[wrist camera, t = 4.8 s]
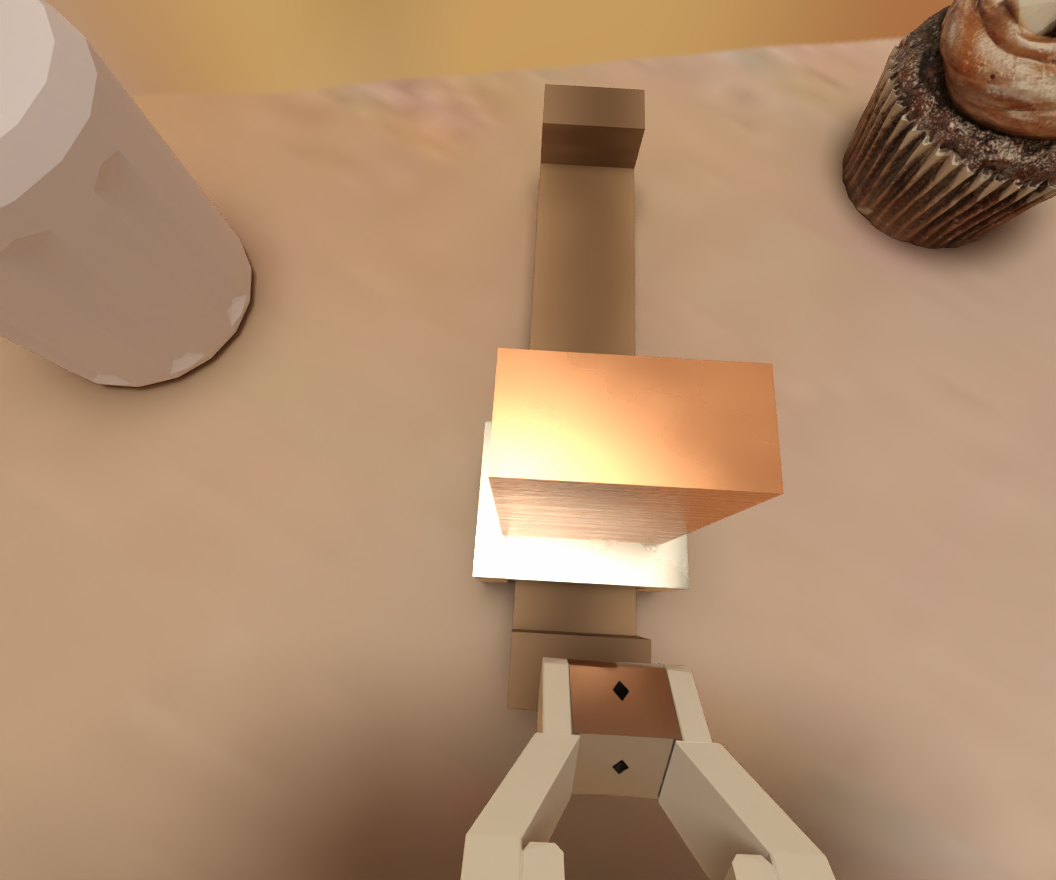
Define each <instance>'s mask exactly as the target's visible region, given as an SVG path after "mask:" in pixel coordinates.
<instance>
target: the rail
mask: <svg viewBox="0 0 1056 880" xmlns="http://www.w3.org/2000/svg"><path fill="white" fill-rule="evenodd" d="M644 130H645V106H644V90H636V89H619V88H602V87H585V86H568V85H550V84H545V95H544V111H543V128H542V148H541V167H540V184H539V200H538V217H537V233H536V250H535V266H534V283H533V300H532V316H531V333H530V349H529V350H543V351H560V352H577V353H594V354H612V355H629V356H635V253H634V167H635V164H636V160H637V156H638V152H639V149H640V145H641V141H642V137H643V134H644ZM543 657H550V658H564V659H567V660H568V659H577V660H589V661H601V662H612V663H614V662H630V663H651V640H649V639H646V638H642V637H638V636H636V587H619V586H601V585H584V584H567V583H550V582H532V581H515V598H514V614H513V629H512V639H511V655H510V672H509V688H508V704H507V708H509V709H526V710H538V700H539V687H540V677H541V667H542V659H543Z"/></svg>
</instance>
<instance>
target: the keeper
mask: <svg viewBox="0 0 1056 880" xmlns="http://www.w3.org/2000/svg"><path fill="white" fill-rule="evenodd" d="M781 494H783V482H782V471H781V459H780V448H779V436H778V425H777V414H776V402H775V391H774V379H773V368H772V364H766V363H749V362H732V361H715V360H697V359H680V358H663V357H646V356H629V355H612V354H594V353H577V352H560V351H543V350H526V349H509V348H498V356H497V369H496V381H495V394H494V406H493V419H492V422H486V423H485V435H484V447H483V459H482V471H481V483H480V495H479V507H478V519H477V531H476V543H475V555H474V567H473V577H475V578H476V579H478V580H479V581H481V582H492V583H508V580H515V581H532V582H550V583H567V584H584V585H601V586H619V587H636V591H647V592H660V591H671V590H682V589H689V582H688V551H687V534H688V533H690V532H692V531H695V530H697V529H700V528H702V527H704V526H707V525H709V524H711V523H714V522H716V521H719V520H721V519H723V518H726V517H728V516H731V515H733V514H735V513H738V512H740V511H743V510H745V509H747V508H750V507H752V506H755V505H757V504H759V503H762V502H764V501H767V500H769V499H771V498H774V497H776V496H779V495H781Z"/></svg>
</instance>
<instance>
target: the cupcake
mask: <svg viewBox="0 0 1056 880" xmlns="http://www.w3.org/2000/svg"><path fill="white" fill-rule="evenodd" d="M843 182H844V184H845V186H846V190H847V193H848V196H849V198H850V200H851V201H852V202H853V204H854V205H855V207H856V209H857V210H858V211H859V212H860V213H861V214H862V215H864V216H865V217H866V218H867V219H868V220H869V221H870V222H871V224H872V225H873V226H875V227H876V228H877V229H879V230H880V231H882V232H883V233H885V234H887V235H889V236H891V237H893V238H895V239H897V240H900V241H902V242H911V243H913V244H914V245H916V246H923V247H926V248H935V249H937V248H957V247H959V246H960V245H962V244H964V243H966V242H971V241H975V240H977V239H978V238H980V237H982V236H983V235H985V234H986V233H988V232H989V231H991V230H992V229H994V228H995V227H997V226H999V225H1000V224H1002V223H1004V222H1006V221H1008V220H1009V219H1011V218H1013V217H1015V216H1017V215H1018V214H1020V213H1022V212H1024V211H1025V210H1027V209H1029V208H1031V207H1033V206H1035V205H1037V204H1039V203H1041V202H1043V201H1045V200H1047V199H1049V198H1052V197H1054V196H1056V0H954V1H953V3H952V4H951V5H950V6H947V7H945V8H944V9H942V10H940V11H939V12H937V13H936V14H934V15H932V16H931V17H929V18H928V19H927V20H926V21H925V22H924V23H923V24H921V25H920V26H919V27H918V28H917V29H916V30H914V31H913V32H910V33H908V35H907V37H906V38H905V37H904V38H903V39H902V40H901V42H900V44H899V46H895V47H894V49H893V50H892V52H891V54H890V56H889V58H888V60H887V63H886V66H885V68H884V71H883V73H882V75H881V77H880V80H879V82H878V84H877V86H876V88H875V91H874V93H873V95H872V97H871V99H870V101H869V103H868V105H867V107H866V109H865V111H864V113H863V115H862V117H861V119H860V121H859V124H858V126H857V128H856V130H855V133H854V135H853V137H852V140H851V142H850V145H849V147H848V149H847V151H846V153H845V156H844V159H843Z"/></svg>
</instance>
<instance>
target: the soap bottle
mask: <svg viewBox="0 0 1056 880" xmlns="http://www.w3.org/2000/svg"><path fill="white" fill-rule="evenodd" d="M250 292H251V266H250V263H249V261H248V258H247V256H246V253H245V251H244V248H243V246H242V243H241V241H240V239H239V238H238V237H237V235H236V234H235V233H234V231H233V230H232V229H231V228H230V226H229V225H228V224H227V222H226V221H225V220H224V218H223V217H222V216H221V214H220V213H219V212H218V211H217V209H216V208H215V207H214V205H213V204H212V203H211V201H210V200H209V199H208V197H207V196H206V195H205V194H204V192H203V191H202V190H201V188H200V187H199V186H198V184H197V183H196V182H195V180H194V179H193V178H192V176H191V175H190V174H189V173H188V171H187V170H186V169H185V167H184V166H183V165H182V163H181V162H180V161H179V159H178V158H177V157H176V156H175V154H174V153H173V152H172V150H171V149H170V148H169V146H168V145H167V144H166V142H165V141H164V140H163V139H162V137H161V136H160V135H159V133H158V132H157V131H156V129H155V128H154V127H153V125H152V124H151V123H150V121H149V120H148V119H147V118H146V116H145V115H144V114H143V112H142V111H141V110H140V108H139V107H138V106H137V104H136V103H135V102H134V101H133V99H132V98H131V97H130V95H129V94H128V93H127V91H126V90H125V89H124V87H123V86H122V85H121V84H120V82H119V81H118V80H117V78H116V77H115V76H114V74H113V73H112V72H111V70H110V69H109V68H108V66H106V64H105V63H104V61H103V60H102V59H101V57H100V56H99V55H98V53H97V52H96V51H95V50H94V48H93V47H92V46H91V44H90V43H89V42H88V40H87V39H86V38H85V37H84V36H83V35H82V34H81V33H80V32H79V31H78V30H77V29H76V28H75V27H74V26H73V25H72V24H71V23H69V22H68V21H67V20H66V19H65V18H64V17H63V16H62V15H61V14H59V12H58V11H56V10H55V9H54V8H53V7H52V6H50V5H49V4H48V3H46V2H45V1H44V0H0V336H2V337H4V338H6V339H8V340H10V341H12V342H14V343H16V344H18V345H20V346H22V347H23V348H25V349H27V350H29V351H31V352H33V353H35V354H37V355H39V356H41V357H43V358H45V359H47V360H49V361H50V362H52V363H54V364H56V365H58V366H60V367H62V368H64V369H66V370H68V371H70V372H72V373H75V374H77V375H79V376H81V377H83V378H85V379H88V380H90V381H92V382H94V383H96V384H104V385H119V386H133V387H141V386H145V385H150V384H154V383H158V382H162V381H166V380H170V379H174V378H178V377H180V376H182V375H183V374H185V373H187V372H188V371H190V370H192V369H194V368H195V367H197V366H199V365H201V364H202V363H204V362H206V361H207V360H209V359H211V358H212V357H213V356H214V355H215V354H216V353H217V352H218V351H219V350H220V348H221V347H222V346H223V345H224V344H225V343H226V342H227V341H228V340H229V339H230V338H231V337H232V336H233V335H234V334H235V333H236V331H237V329H238V327H239V325H240V322H241V320H242V318H243V316H244V314H245V312H246V309H247V307H248V305H249V303H250Z"/></svg>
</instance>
